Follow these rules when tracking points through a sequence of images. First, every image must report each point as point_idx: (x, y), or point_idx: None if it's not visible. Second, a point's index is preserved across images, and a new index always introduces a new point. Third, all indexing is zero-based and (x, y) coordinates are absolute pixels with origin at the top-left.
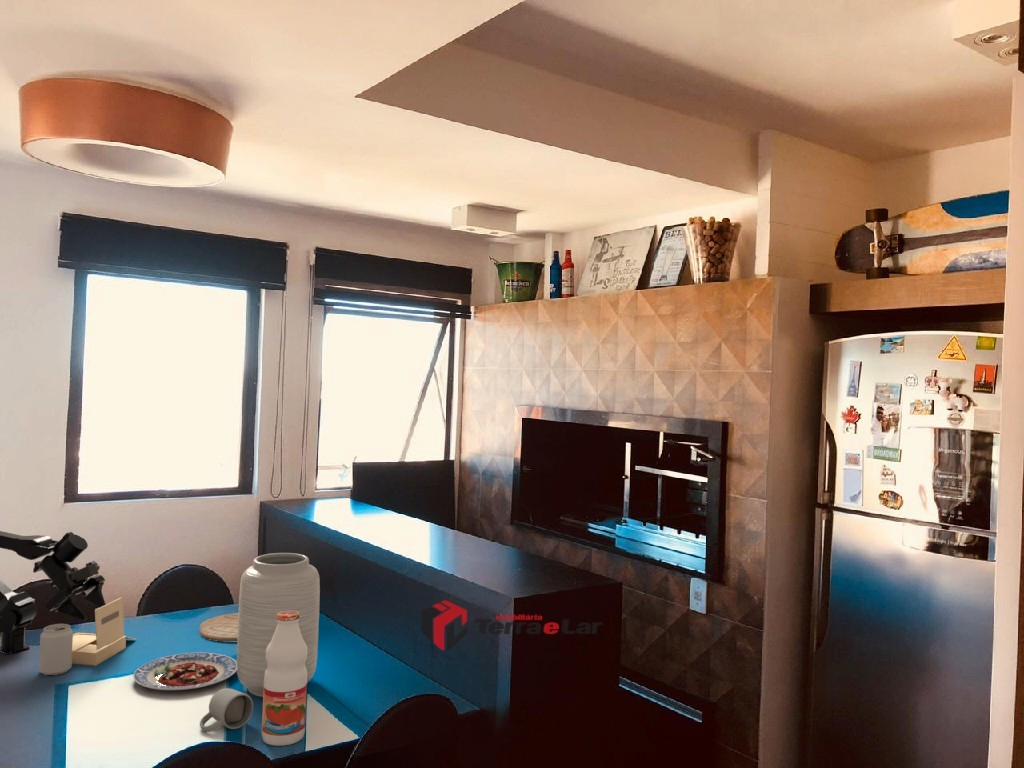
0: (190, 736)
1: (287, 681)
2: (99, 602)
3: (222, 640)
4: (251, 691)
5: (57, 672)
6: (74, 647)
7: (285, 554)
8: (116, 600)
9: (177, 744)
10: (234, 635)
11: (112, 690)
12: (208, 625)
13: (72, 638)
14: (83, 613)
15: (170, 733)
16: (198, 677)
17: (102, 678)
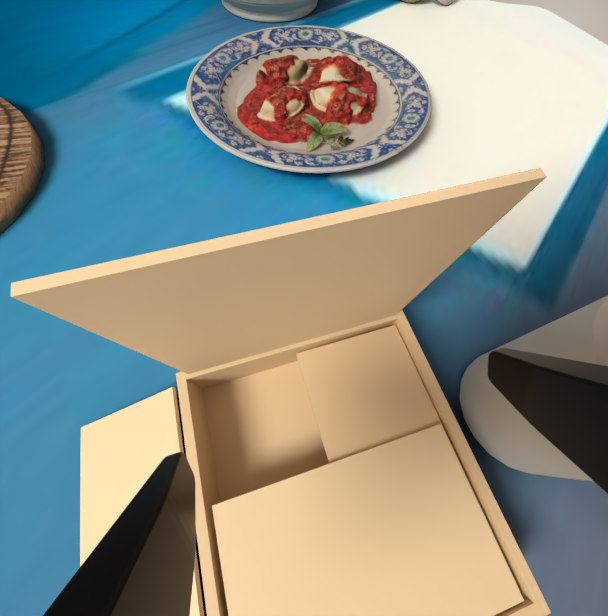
0: (472, 5)
1: None
2: (160, 592)
3: (40, 161)
4: (315, 3)
5: None
6: (415, 469)
7: None
8: (165, 252)
9: (497, 5)
10: (8, 135)
11: (460, 167)
12: None
13: (563, 322)
14: (548, 365)
15: (486, 21)
16: (317, 69)
17: None
